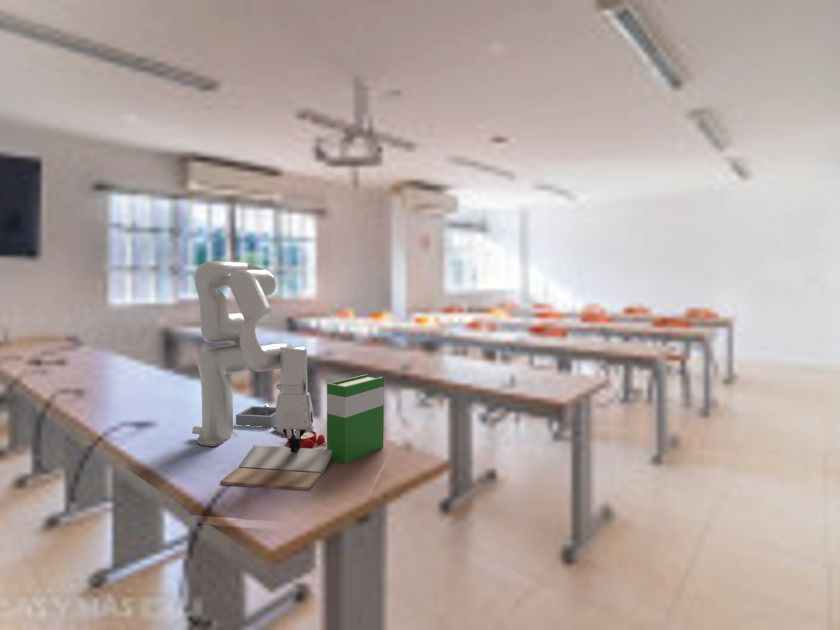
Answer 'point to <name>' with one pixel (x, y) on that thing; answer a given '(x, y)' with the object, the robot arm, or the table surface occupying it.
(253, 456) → the grey oak plank
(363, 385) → the hardback book
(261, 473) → the walnut plank
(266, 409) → the bacteriophage
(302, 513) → the table surface
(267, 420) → the grey tray
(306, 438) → the alarm clock
